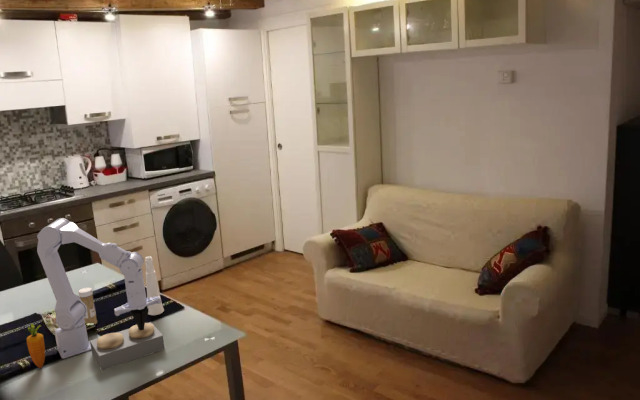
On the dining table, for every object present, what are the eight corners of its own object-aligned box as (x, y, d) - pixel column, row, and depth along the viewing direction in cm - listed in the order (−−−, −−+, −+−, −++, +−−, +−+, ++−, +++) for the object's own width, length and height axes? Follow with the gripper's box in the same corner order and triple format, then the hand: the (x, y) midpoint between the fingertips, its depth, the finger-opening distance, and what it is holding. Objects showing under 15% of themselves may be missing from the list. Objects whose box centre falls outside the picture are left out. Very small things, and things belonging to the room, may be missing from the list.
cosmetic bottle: (143, 314, 208) (136, 259, 202) (154, 307, 213) (147, 253, 207) (157, 316, 205) (149, 260, 200) (167, 309, 211) (160, 254, 205)
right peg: (135, 354, 179) (132, 337, 177) (127, 344, 185) (125, 327, 184) (159, 346, 183) (157, 329, 182) (151, 336, 189) (149, 320, 188)
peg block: (101, 370, 171) (99, 356, 170) (92, 354, 181) (89, 340, 180) (164, 349, 182) (162, 335, 181) (152, 335, 192) (150, 321, 190)
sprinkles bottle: (98, 324, 201) (93, 290, 198) (85, 328, 199) (79, 293, 195) (95, 319, 205) (90, 286, 202) (82, 323, 203) (77, 289, 199)
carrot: (35, 364, 177) (27, 321, 173) (51, 363, 177) (43, 320, 173) (29, 373, 172) (20, 329, 168) (45, 371, 172) (37, 327, 168)
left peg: (103, 365, 173) (100, 348, 172) (96, 354, 180) (93, 337, 178) (128, 356, 178) (126, 339, 176) (121, 346, 184) (119, 330, 183)
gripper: (116, 301, 172) (122, 340, 175) (161, 288, 180) (166, 326, 183) (110, 293, 177) (116, 332, 181) (154, 281, 185) (159, 318, 189)
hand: (141, 328), depth 183 cm, fingers closed, pressing on right peg
